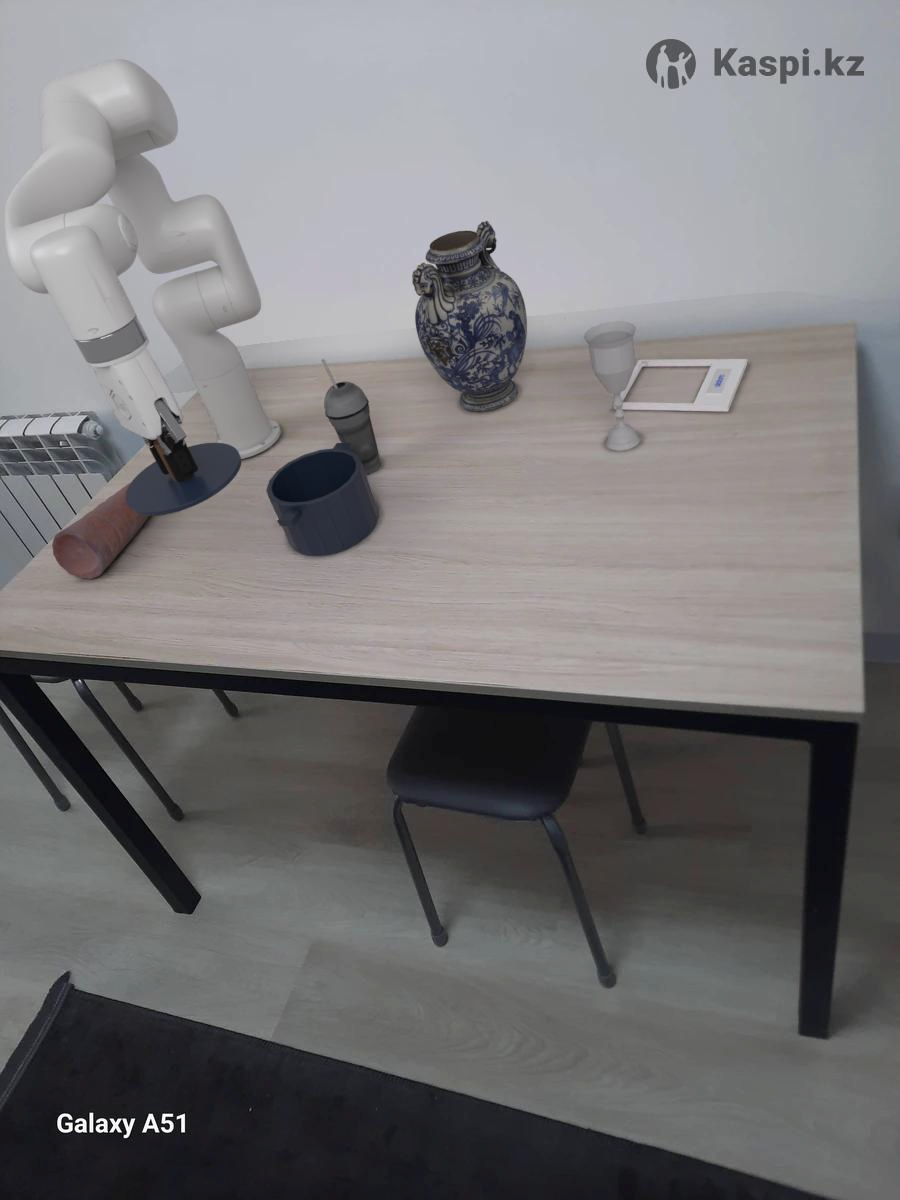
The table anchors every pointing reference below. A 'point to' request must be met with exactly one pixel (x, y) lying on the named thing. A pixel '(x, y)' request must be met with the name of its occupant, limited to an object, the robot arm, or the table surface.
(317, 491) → the pot
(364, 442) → the beverage cup
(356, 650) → the table surface
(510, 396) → the decorative vase
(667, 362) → the photo frame
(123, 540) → the food
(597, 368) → the chalice
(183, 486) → the lid
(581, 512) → the table surface
